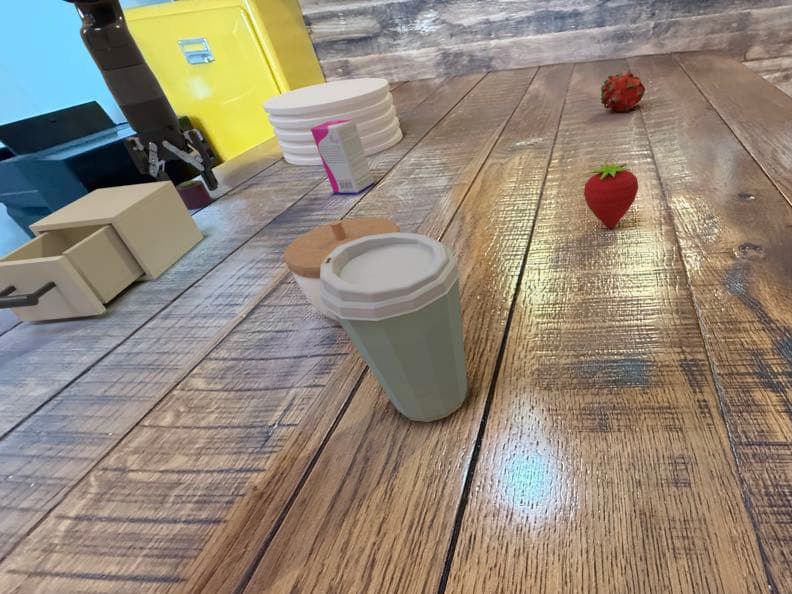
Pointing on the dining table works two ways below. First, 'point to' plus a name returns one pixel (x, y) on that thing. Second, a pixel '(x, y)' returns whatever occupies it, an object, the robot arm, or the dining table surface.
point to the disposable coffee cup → (402, 318)
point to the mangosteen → (194, 194)
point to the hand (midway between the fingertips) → (193, 192)
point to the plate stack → (333, 116)
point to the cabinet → (135, 222)
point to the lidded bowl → (327, 251)
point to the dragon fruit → (622, 92)
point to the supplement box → (343, 157)
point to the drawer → (66, 273)
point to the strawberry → (611, 193)
